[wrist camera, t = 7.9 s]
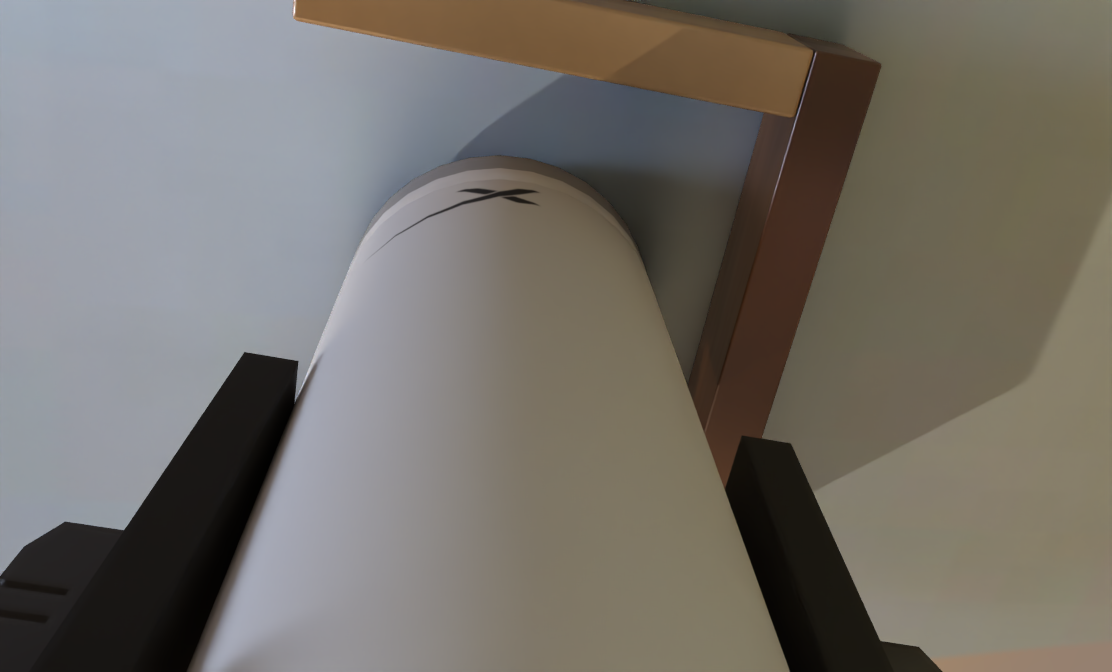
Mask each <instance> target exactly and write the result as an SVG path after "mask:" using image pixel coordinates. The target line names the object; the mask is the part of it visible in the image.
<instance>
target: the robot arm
mask: <svg viewBox="0 0 1112 672" xmlns="http://www.w3.org/2000/svg"><path fill="white" fill-rule="evenodd" d="M297 370H298V361H294V360H288V359H282V358H276V357H270V356H264V355H258V354H252V353H246V352H244V354H243V355H242V357H241V358H240V360H239V361H238V363H237V364H236V366H235V367H234V369H233V370H232V372H231V373H230V375H229V376H228V377H227V379H226V380H225V382H224V383H223V385H222V386H221V388H220V389H219V391H218V392H217V394H216V395H215V397H214V398H213V400H212V401H211V403H210V404H209V406H208V407H207V409H206V410H205V412H204V413H203V414H202V416H201V417H200V419H199V420H198V422H197V423H196V425H195V426H194V428H193V429H192V431H191V432H190V434H189V435H188V437H187V438H186V440H185V441H184V443H183V444H182V446H181V447H180V449H179V450H178V452H177V453H176V454H175V456H174V457H173V459H172V460H171V462H170V463H169V465H168V466H167V468H166V469H165V471H164V472H163V474H162V475H161V477H160V478H159V480H158V481H157V483H156V484H155V486H154V487H153V489H152V490H151V491H150V493H149V494H148V496H147V497H146V499H145V500H144V502H143V503H142V505H141V506H140V508H139V509H138V511H137V512H136V514H135V515H134V517H133V518H132V520H131V521H130V523H129V524H128V526H127V527H126V529H125V530H117V529H111V528H104V527H97V526H91V525H84V524H77V523H71V522H64V523H62V524H61V525H59V526H57V527H56V528H54V529H52V530H51V531H49V532H48V533H46V534H44V535H43V536H41V537H39V538H38V539H36V540H34V541H33V542H31V543H29V544H28V545H26V546H24V547H23V549H22V550H21V551H20V552H19V554H18V555H17V556H16V557H15V558H14V560H13V561H12V562H11V563H10V565H9V566H8V567H7V568H6V570H5V571H4V572H3V573H2V574H1V576H0V672H187V669H188V667H189V664H190V662H191V660H192V657H193V655H194V652H195V650H196V647H197V645H198V642H199V640H200V637H201V635H202V632H203V630H204V627H205V625H206V622H207V620H208V617H209V615H210V612H211V610H212V607H213V605H214V602H215V600H216V597H217V595H218V593H219V590H220V588H221V585H222V583H223V580H224V578H225V575H226V573H227V570H228V568H229V565H230V563H231V560H232V558H233V555H234V553H235V550H236V548H237V545H238V543H239V540H240V538H241V535H242V533H243V531H244V528H245V526H246V523H247V521H248V518H249V516H250V513H251V511H252V508H253V506H254V503H255V501H256V498H257V496H258V493H259V491H260V488H261V486H262V483H263V481H264V478H265V476H266V473H267V471H268V468H269V466H270V464H271V461H272V459H273V456H274V454H275V451H276V449H277V446H278V444H279V441H280V439H281V436H282V434H283V431H284V429H285V426H286V424H287V421H288V419H289V416H290V414H291V411H292V409H293V406H294V402H295V391H296V380H297ZM725 492H726V495H727V498H728V500H729V503H730V506H731V509H732V512H733V514H734V517H735V520H736V523H737V526H738V528H739V531H740V534H741V537H742V540H743V542H744V545H745V548H746V551H747V553H748V556H749V559H750V562H751V565H752V567H753V570H754V573H755V576H756V579H757V581H758V584H759V587H760V590H761V592H762V595H763V598H764V601H765V604H766V606H767V609H768V612H769V615H770V618H771V620H772V623H773V626H774V629H775V631H776V634H777V637H778V640H779V643H780V645H781V648H782V651H783V654H784V657H785V659H786V662H787V665H788V668H789V671H790V672H942V671H941V670H940V669H939V668H938V667H937V665H936V664H935V663H934V662H933V661H932V660H931V659H930V658H929V657H928V656H927V655H926V654H925V653H924V652H923V651H922V650H921V649H920V648H919V647H916V646H909V645H903V644H896V643H889V642H883V641H880V640H879V637H878V635H877V633H876V631H875V629H874V626H873V624H872V622H871V620H870V617H869V615H868V613H867V611H866V609H865V606H864V604H863V602H862V600H861V598H860V595H859V593H858V591H857V589H856V587H855V584H854V582H853V580H852V578H851V575H850V573H849V571H848V569H847V567H846V564H845V562H844V560H843V558H842V556H841V553H840V551H839V549H838V547H837V545H836V542H835V540H834V538H833V536H832V534H831V531H830V529H829V527H828V525H827V522H826V520H825V518H824V516H823V514H822V511H821V509H820V507H819V505H818V503H817V500H816V498H815V496H814V494H813V492H812V489H811V487H810V485H809V483H808V480H807V478H806V476H805V474H804V472H803V469H802V467H801V465H800V463H799V461H798V458H797V456H796V454H795V452H794V450H793V447H792V445H791V444H790V443H784V442H778V441H773V440H767V439H761V438H755V437H749V436H743V435H742V436H741V439H740V442H739V445H738V449H737V452H736V455H735V458H734V461H733V465H732V468H731V471H730V474H729V477H728V481H727V484H726V487H725Z"/></svg>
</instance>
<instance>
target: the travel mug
mask: <svg viewBox="0 0 1112 672" xmlns="http://www.w3.org/2000/svg"><path fill="white" fill-rule="evenodd" d="M187 672H790V671H789V668H788V665H787V662H786V659H785V657H784V654H783V651H782V648H781V645H780V643H779V640H778V637H777V634H776V631H775V629H774V626H773V623H772V620H771V618H770V615H769V612H768V609H767V606H766V604H765V601H764V598H763V595H762V592H761V590H760V587H759V584H758V581H757V579H756V576H755V573H754V570H753V567H752V565H751V562H750V559H749V556H748V553H747V551H746V548H745V545H744V542H743V540H742V537H741V534H740V531H739V528H738V526H737V523H736V520H735V517H734V514H733V512H732V509H731V506H730V503H729V500H728V498H727V495H726V492H725V489H724V487H723V484H722V481H721V478H720V475H719V473H718V470H717V467H716V464H715V461H714V459H713V456H712V453H711V450H710V448H709V445H708V442H707V439H706V436H705V434H704V431H703V428H702V425H701V422H700V420H699V417H698V414H697V411H696V408H695V406H694V403H693V400H692V397H691V395H690V392H689V389H688V386H687V383H686V381H685V378H684V375H683V372H682V369H681V367H680V364H679V361H678V358H677V356H676V353H675V350H674V347H673V344H672V342H671V339H670V336H669V333H668V330H667V328H666V325H665V322H664V319H663V317H662V314H661V311H660V308H659V305H658V303H657V300H656V297H655V294H654V291H653V289H652V286H651V283H650V280H649V278H648V276H647V273H646V269H645V266H644V264H643V261H642V258H641V255H640V252H639V250H638V247H637V245H636V243H635V241H634V239H633V237H632V235H631V233H630V231H629V229H628V227H627V225H626V223H625V222H624V221H623V219H622V218H621V217H620V216H619V214H618V213H617V212H616V210H615V209H614V208H613V207H612V205H611V204H610V203H609V202H608V201H607V200H606V199H605V198H604V197H603V196H601V195H600V194H599V193H598V192H597V191H595V190H594V189H593V188H592V187H591V186H590V185H588V184H587V183H586V182H584V181H582V180H581V179H579V178H577V177H575V176H573V175H571V174H570V173H568V172H566V171H564V170H562V169H561V168H558V167H555V166H552V165H548V164H545V163H542V162H539V161H536V160H533V159H528V158H519V157H510V156H501V155H498V156H485V157H473V158H467V159H463V160H459V161H456V162H452V163H449V164H445V165H442V166H439V167H437V168H435V169H433V170H431V171H429V172H427V173H425V174H423V175H421V176H419V177H417V178H415V179H413V180H412V181H410V182H409V183H408V184H407V185H405V186H404V187H403V188H402V189H400V190H399V191H398V192H397V193H395V194H394V195H393V196H392V197H390V198H389V200H388V201H387V202H386V203H385V204H384V206H383V207H382V208H381V209H380V210H379V212H378V213H377V214H376V215H375V217H374V218H373V219H372V220H371V222H370V224H369V226H368V228H367V230H366V232H365V234H364V236H363V237H362V239H361V241H360V243H359V245H358V248H357V250H356V253H355V255H354V258H353V260H352V263H351V265H350V268H349V271H348V273H347V275H346V277H345V280H344V282H343V285H342V287H341V290H340V292H339V295H338V297H337V300H336V302H335V305H334V307H333V310H332V312H331V315H330V317H329V320H328V322H327V325H326V327H325V330H324V332H323V335H322V337H321V339H320V342H319V344H318V347H317V349H316V352H315V354H314V357H313V359H312V362H311V364H310V367H309V369H308V372H307V374H306V377H305V379H304V382H303V384H302V387H301V389H300V392H299V394H298V397H297V399H296V402H295V404H294V406H293V409H292V411H291V414H290V416H289V419H288V421H287V424H286V426H285V429H284V431H283V434H282V436H281V439H280V441H279V444H278V446H277V449H276V451H275V454H274V456H273V459H272V461H271V464H270V466H269V468H268V471H267V473H266V476H265V478H264V481H263V483H262V486H261V488H260V491H259V493H258V496H257V498H256V501H255V503H254V506H253V508H252V511H251V513H250V516H249V518H248V521H247V523H246V526H245V528H244V531H243V533H242V535H241V538H240V540H239V543H238V545H237V548H236V550H235V553H234V555H233V558H232V560H231V563H230V565H229V568H228V570H227V573H226V575H225V578H224V580H223V583H222V585H221V588H220V590H219V593H218V595H217V597H216V600H215V602H214V605H213V607H212V610H211V612H210V615H209V617H208V620H207V622H206V625H205V627H204V630H203V632H202V635H201V637H200V640H199V642H198V645H197V647H196V650H195V652H194V655H193V657H192V660H191V662H190V664H189V667H188V669H187Z"/></svg>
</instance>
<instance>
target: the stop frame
mask: <svg viewBox="0 0 1112 672" xmlns="http://www.w3.org/2000/svg"><path fill="white" fill-rule="evenodd" d="M293 18H294V19H295V20H297V21H300V22H305V23H310V24H315V25H320V26H326V27H331V28H336V29H341V30H346V31H351V32H356V33H361V34H366V35H371V36H376V37H381V38H387V39H392V40H397V41H402V42H407V43H412V44H417V45H422V46H427V47H432V48H437V49H442V50H448V51H453V52H458V53H463V54H468V55H473V56H478V57H483V58H488V59H493V60H498V61H503V62H508V63H514V64H519V65H524V66H529V67H534V68H539V69H544V70H549V71H554V72H559V73H564V74H569V75H575V76H580V77H585V78H590V79H595V80H600V81H605V82H610V83H615V84H620V85H625V86H630V87H636V88H641V89H646V90H651V91H656V92H661V93H666V94H671V95H676V96H681V97H686V98H691V99H697V100H702V101H707V102H712V103H717V104H722V105H727V106H732V107H737V108H742V109H747V110H752V111H758V112H763V113H764V114H763V118H762V122H761V125H760V129H759V132H758V136H757V139H756V143H755V147H754V150H753V154H752V157H751V161H750V165H749V168H748V172H747V175H746V179H745V182H744V186H743V190H742V193H741V197H740V200H739V204H738V208H737V211H736V215H735V218H734V222H733V226H732V229H731V233H730V236H729V240H728V243H727V247H726V251H725V254H724V258H723V261H722V265H721V269H720V272H719V276H718V279H717V283H716V286H715V290H714V294H713V297H712V301H711V304H710V308H709V312H708V315H707V319H706V322H705V326H704V329H703V333H702V337H701V340H700V344H699V347H698V351H697V355H696V358H695V362H694V365H693V369H692V373H691V376H690V380H689V383H688V389H689V392H690V395H691V397H692V400H693V403H694V406H695V408H696V411H697V414H698V417H699V420H700V422H701V425H702V428H703V431H704V434H705V436H706V439H707V442H708V445H709V448H710V450H711V453H712V456H713V459H714V461H715V464H716V467H717V470H718V473H719V475H720V478H721V481H722V484H723V487H724V489H725V487H726V484H727V481H728V477H729V474H730V471H731V468H732V465H733V461H734V458H735V455H736V452H737V449H738V445H739V442H740V439H741V436H742V435H743V436H749V437H755V438H762V435H763V432H764V429H765V426H766V423H767V420H768V417H769V414H770V410H771V407H772V404H773V401H774V398H775V395H776V392H777V389H778V386H779V383H780V379H781V376H782V373H783V370H784V367H785V364H786V361H787V358H788V355H789V352H790V348H791V345H792V342H793V339H794V336H795V333H796V330H797V327H798V324H799V321H800V317H801V314H802V311H803V308H804V305H805V302H806V299H807V296H808V293H809V290H810V286H811V283H812V280H813V277H814V274H815V271H816V268H817V265H818V262H819V259H820V255H821V252H822V249H823V246H824V243H825V240H826V237H827V234H828V231H829V228H830V224H831V221H832V218H833V215H834V212H835V209H836V206H837V203H838V200H839V197H840V193H841V190H842V187H843V184H844V181H845V178H846V175H847V172H848V169H849V166H850V162H851V159H852V156H853V153H854V150H855V147H856V144H857V141H858V138H859V135H860V131H861V128H862V125H863V122H864V119H865V116H866V113H867V110H868V107H869V104H870V100H871V97H872V94H873V91H874V88H875V85H876V82H877V79H878V76H879V73H880V69H881V64H880V63H879V62H877V61H875V60H873V59H871V58H869V57H867V56H865V55H863V54H861V53H859V52H857V51H855V50H853V49H851V48H849V47H847V46H845V45H843V44H838V43H833V42H828V41H824V40H819V39H814V38H809V37H804V36H799V35H794V34H784V33H783V32H779V31H774V30H769V29H764V28H759V27H754V26H749V25H744V24H739V23H735V22H730V21H725V20H720V19H715V18H710V17H705V16H700V15H695V14H690V13H685V12H681V11H676V10H671V9H666V8H661V7H656V6H651V5H646V4H641V3H636V2H631V1H626V0H294V2H293Z"/></svg>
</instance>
